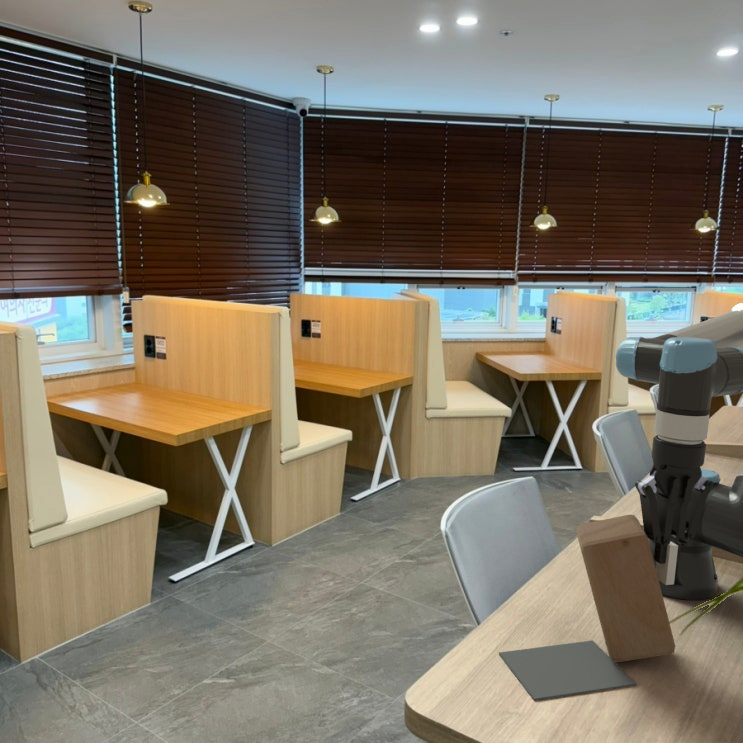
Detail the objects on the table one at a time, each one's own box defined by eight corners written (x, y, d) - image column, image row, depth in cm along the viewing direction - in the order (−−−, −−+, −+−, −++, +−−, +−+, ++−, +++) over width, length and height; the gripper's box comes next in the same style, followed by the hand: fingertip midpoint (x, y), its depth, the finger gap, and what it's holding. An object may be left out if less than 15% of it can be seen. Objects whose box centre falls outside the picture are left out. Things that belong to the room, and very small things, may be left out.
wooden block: (678, 655, 106) (647, 532, 104) (612, 665, 108) (580, 545, 106) (663, 623, 116) (634, 511, 114) (603, 634, 118) (573, 523, 116)
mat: (592, 642, 115) (592, 640, 115) (636, 685, 104) (636, 683, 104) (498, 654, 111) (498, 652, 111) (534, 700, 100) (534, 698, 100)
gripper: (698, 430, 112) (682, 567, 116) (628, 433, 109) (614, 573, 112) (732, 442, 105) (715, 588, 109) (659, 446, 101) (643, 595, 105)
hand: (664, 580), depth 111 cm, fingers closed
